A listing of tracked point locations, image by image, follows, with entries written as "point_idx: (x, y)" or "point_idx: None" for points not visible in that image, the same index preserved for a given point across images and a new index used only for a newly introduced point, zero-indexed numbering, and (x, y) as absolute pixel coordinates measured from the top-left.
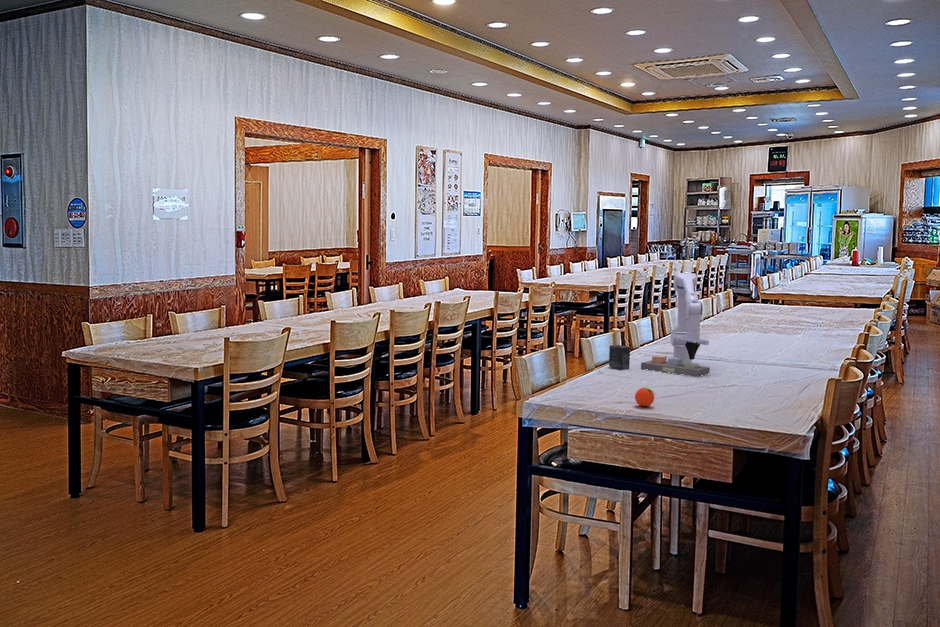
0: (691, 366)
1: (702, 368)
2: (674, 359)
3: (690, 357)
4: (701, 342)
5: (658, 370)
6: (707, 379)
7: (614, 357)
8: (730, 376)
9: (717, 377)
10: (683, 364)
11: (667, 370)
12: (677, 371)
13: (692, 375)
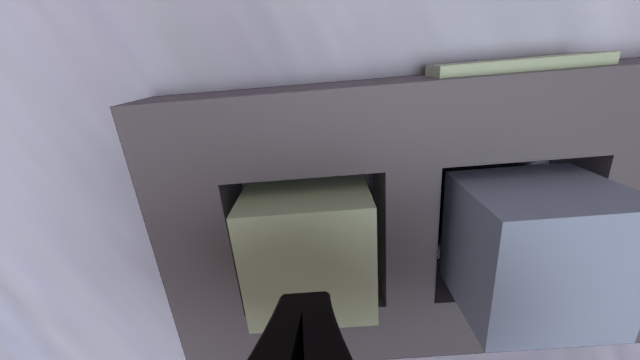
0: (267, 203)
1: (178, 265)
2: (558, 214)
3: (304, 311)
4: None
5: (630, 59)
6: (2, 55)
7: None
8: (44, 344)
9: (53, 234)
10: (452, 321)
11: (521, 58)
12: (393, 78)
13: (208, 92)
